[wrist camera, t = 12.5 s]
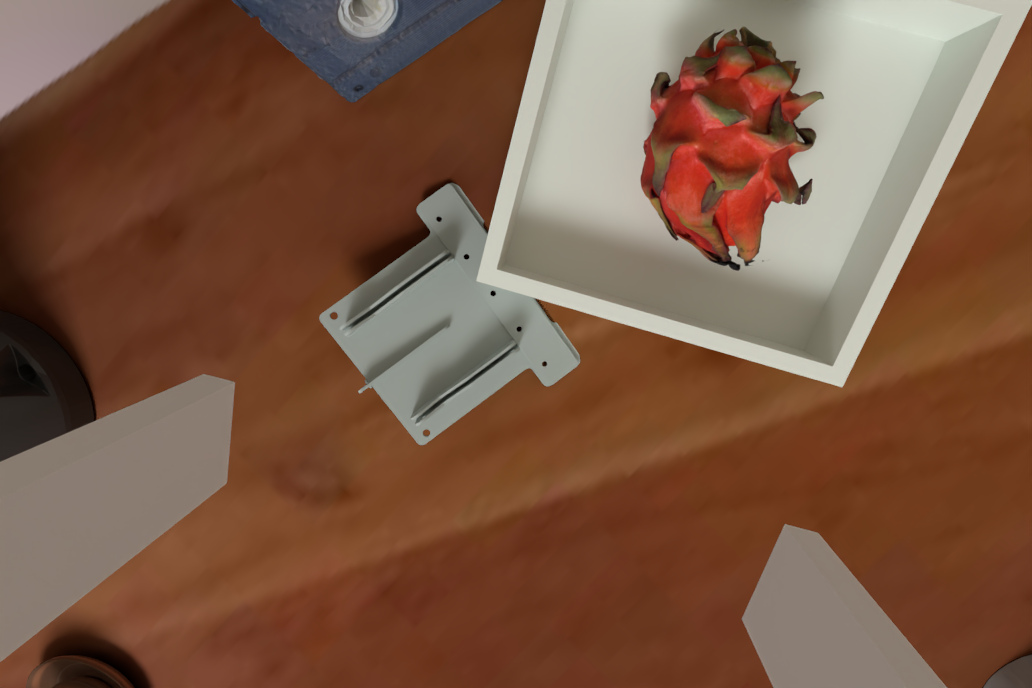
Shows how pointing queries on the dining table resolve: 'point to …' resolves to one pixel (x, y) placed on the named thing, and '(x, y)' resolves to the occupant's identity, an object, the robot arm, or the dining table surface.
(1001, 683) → the coffee mug
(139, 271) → the dining table surface
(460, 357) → the metal bracket
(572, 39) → the tray
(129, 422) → the robot arm
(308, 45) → the vhs cassette tape
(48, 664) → the cup and saucer
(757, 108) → the dragon fruit
